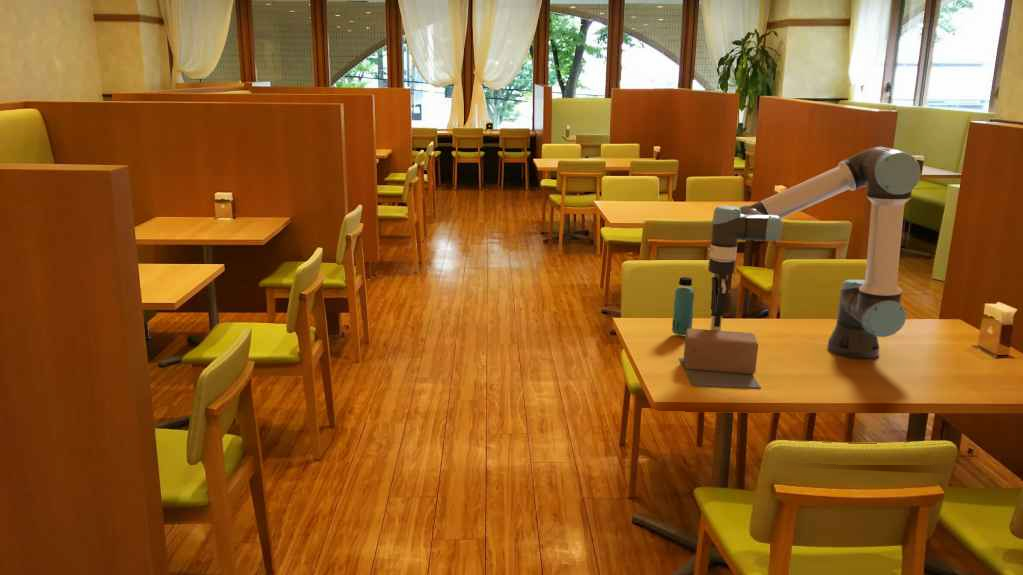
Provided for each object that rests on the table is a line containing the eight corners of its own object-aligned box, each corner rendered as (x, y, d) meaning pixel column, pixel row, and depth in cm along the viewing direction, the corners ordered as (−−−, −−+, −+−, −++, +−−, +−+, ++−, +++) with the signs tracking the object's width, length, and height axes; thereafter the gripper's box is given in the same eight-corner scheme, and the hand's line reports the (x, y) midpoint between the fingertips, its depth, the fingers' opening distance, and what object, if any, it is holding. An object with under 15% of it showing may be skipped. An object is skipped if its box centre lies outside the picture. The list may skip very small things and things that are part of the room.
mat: (742, 361, 248) (742, 360, 248) (760, 388, 227) (760, 387, 227) (679, 358, 249) (679, 357, 248) (691, 385, 227) (691, 384, 227)
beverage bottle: (694, 336, 271) (699, 277, 266) (686, 341, 265) (692, 281, 260) (675, 332, 274) (680, 274, 269) (667, 337, 269) (672, 278, 263)
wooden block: (758, 342, 233) (687, 337, 236) (755, 375, 235) (684, 369, 238) (754, 332, 242) (686, 327, 245) (751, 364, 245) (683, 358, 248)
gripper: (705, 253, 246) (698, 328, 252) (713, 263, 233) (706, 342, 240) (730, 254, 246) (723, 329, 252) (740, 264, 233) (732, 343, 239)
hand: (714, 335), depth 246 cm, fingers closed
